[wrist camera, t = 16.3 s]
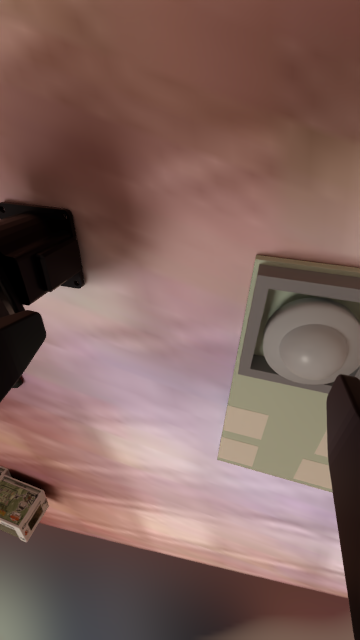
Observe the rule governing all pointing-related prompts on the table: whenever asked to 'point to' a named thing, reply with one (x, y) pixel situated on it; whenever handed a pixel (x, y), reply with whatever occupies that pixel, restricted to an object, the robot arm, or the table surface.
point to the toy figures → (20, 506)
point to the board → (282, 378)
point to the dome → (312, 341)
